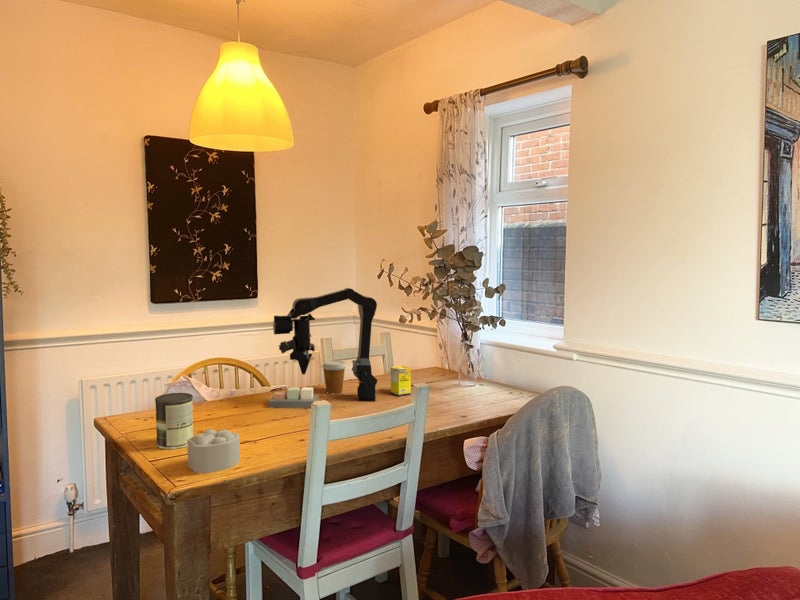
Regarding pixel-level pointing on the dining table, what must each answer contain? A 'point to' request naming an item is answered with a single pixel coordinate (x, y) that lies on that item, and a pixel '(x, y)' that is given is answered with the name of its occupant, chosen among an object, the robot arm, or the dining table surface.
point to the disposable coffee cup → (334, 376)
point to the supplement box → (400, 380)
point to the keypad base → (291, 403)
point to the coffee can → (174, 420)
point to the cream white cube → (306, 393)
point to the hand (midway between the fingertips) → (303, 374)
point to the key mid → (293, 393)
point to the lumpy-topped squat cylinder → (213, 451)
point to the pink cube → (280, 395)
